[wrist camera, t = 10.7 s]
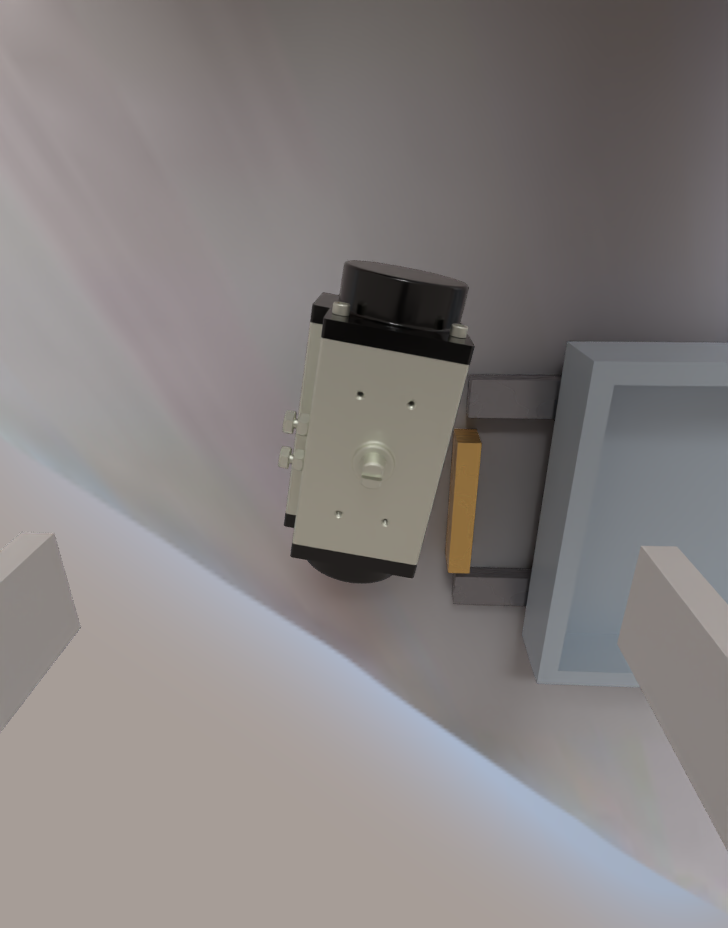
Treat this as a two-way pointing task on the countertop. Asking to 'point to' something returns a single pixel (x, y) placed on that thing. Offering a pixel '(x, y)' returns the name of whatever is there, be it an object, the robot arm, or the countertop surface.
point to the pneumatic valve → (374, 419)
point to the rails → (484, 401)
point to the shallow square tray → (625, 495)
